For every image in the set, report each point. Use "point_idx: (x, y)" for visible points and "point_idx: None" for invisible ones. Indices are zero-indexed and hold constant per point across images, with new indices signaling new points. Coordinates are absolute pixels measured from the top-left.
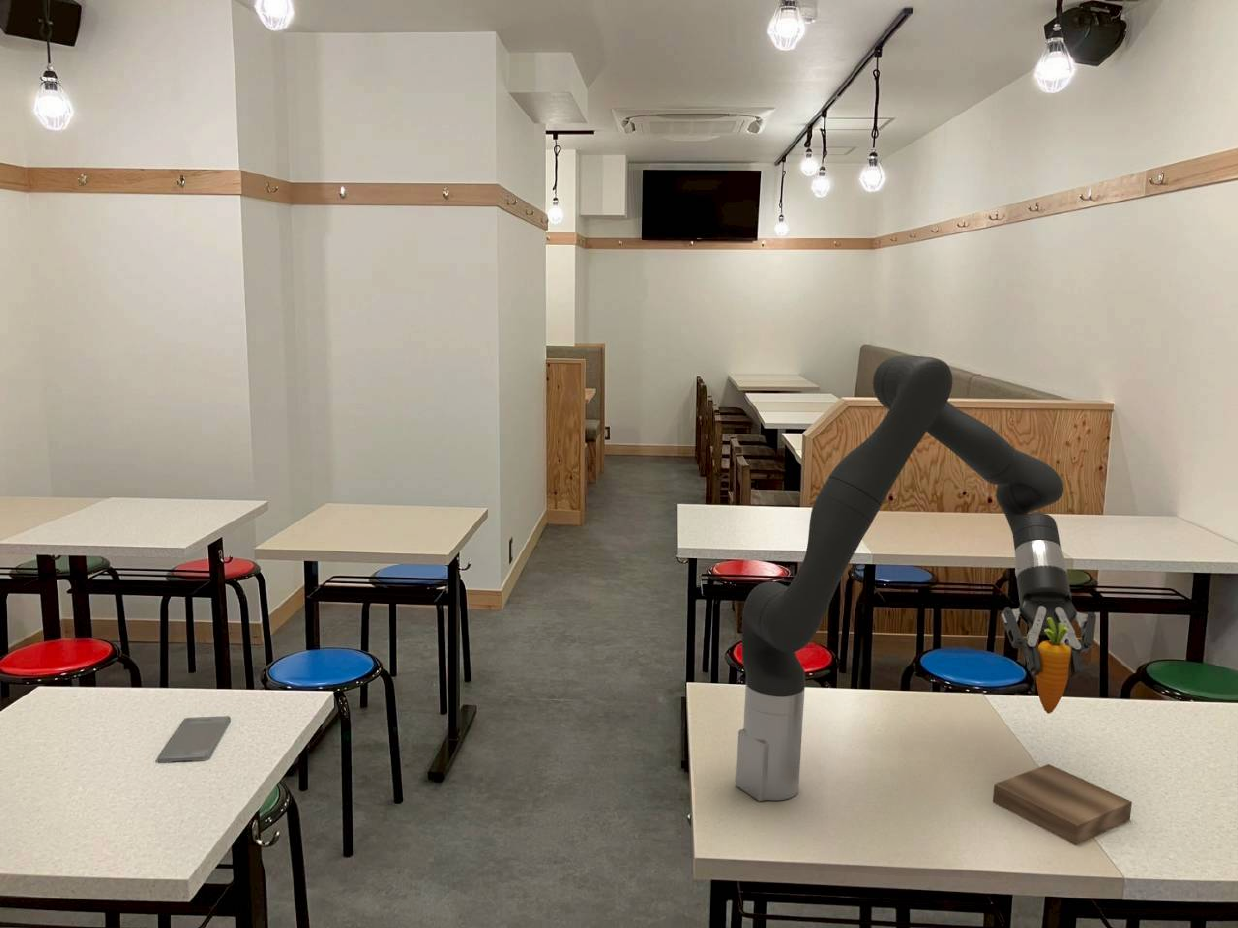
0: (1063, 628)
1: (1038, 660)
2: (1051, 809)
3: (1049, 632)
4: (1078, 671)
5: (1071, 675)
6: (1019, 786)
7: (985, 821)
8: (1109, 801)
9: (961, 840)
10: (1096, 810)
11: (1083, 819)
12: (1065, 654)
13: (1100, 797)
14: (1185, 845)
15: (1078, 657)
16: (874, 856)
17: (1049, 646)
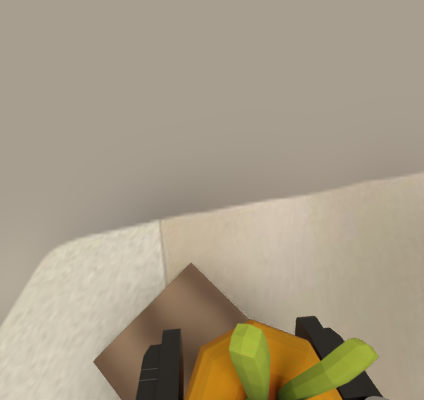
0: (262, 348)
1: (316, 341)
2: (214, 297)
3: (340, 348)
4: (168, 329)
5: (183, 368)
6: None
7: (287, 293)
8: (127, 350)
9: (310, 241)
10: (155, 313)
11: (179, 281)
12: (220, 338)
13: (136, 361)
14: (60, 307)
15: (150, 397)
16: (383, 190)
17: (298, 362)
